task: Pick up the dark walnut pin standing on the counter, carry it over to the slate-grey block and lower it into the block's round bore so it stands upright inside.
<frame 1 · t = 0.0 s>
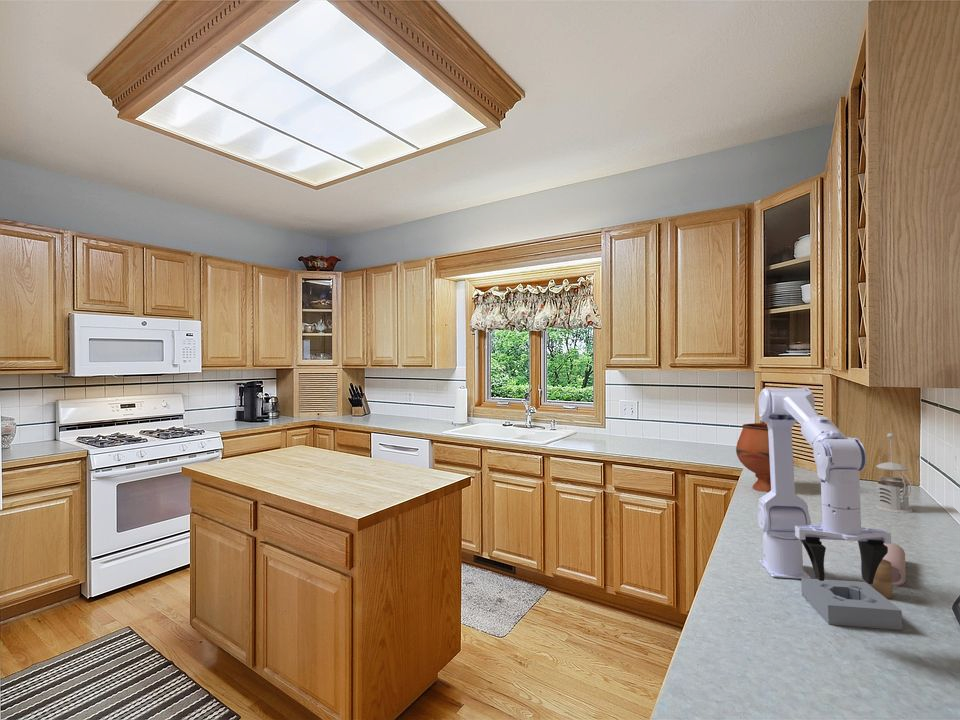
hand: (843, 580, 89), 10 cm above the countertop, fingers open, 7 cm apart
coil: (892, 573, 114), on the countertop
walnut pin: (880, 594, 104), on the countertop
goblet: (765, 489, 190), on the countertop
french press: (895, 510, 161), on the countertop
bore block: (848, 611, 97), on the countertop
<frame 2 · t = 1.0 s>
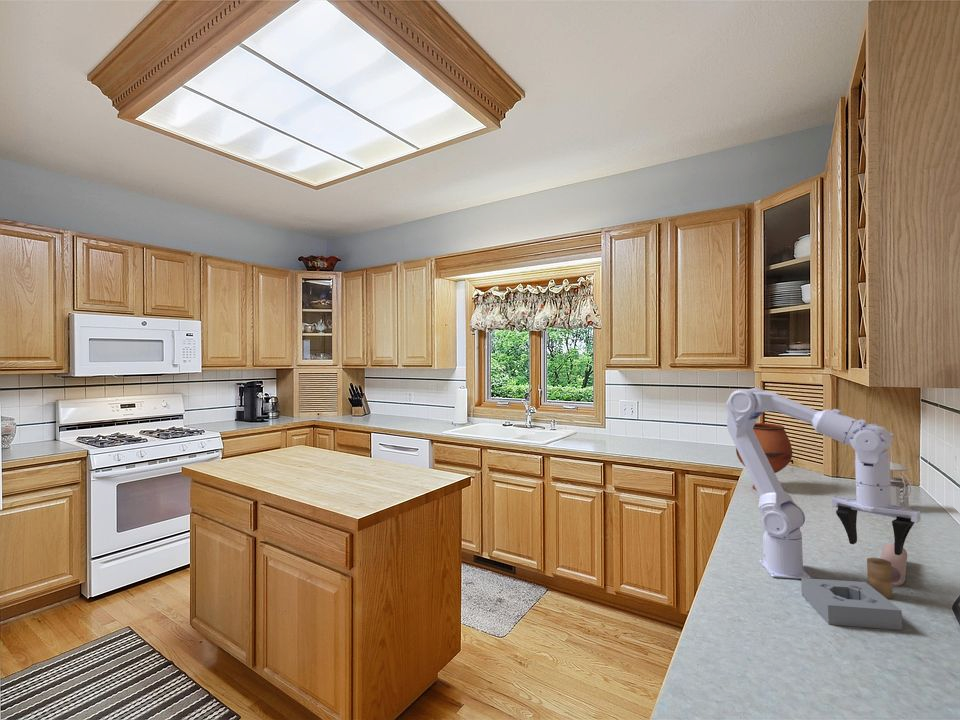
hand: (875, 548, 102), 10 cm above the countertop, fingers open, 7 cm apart
nothing on the countertop moved.
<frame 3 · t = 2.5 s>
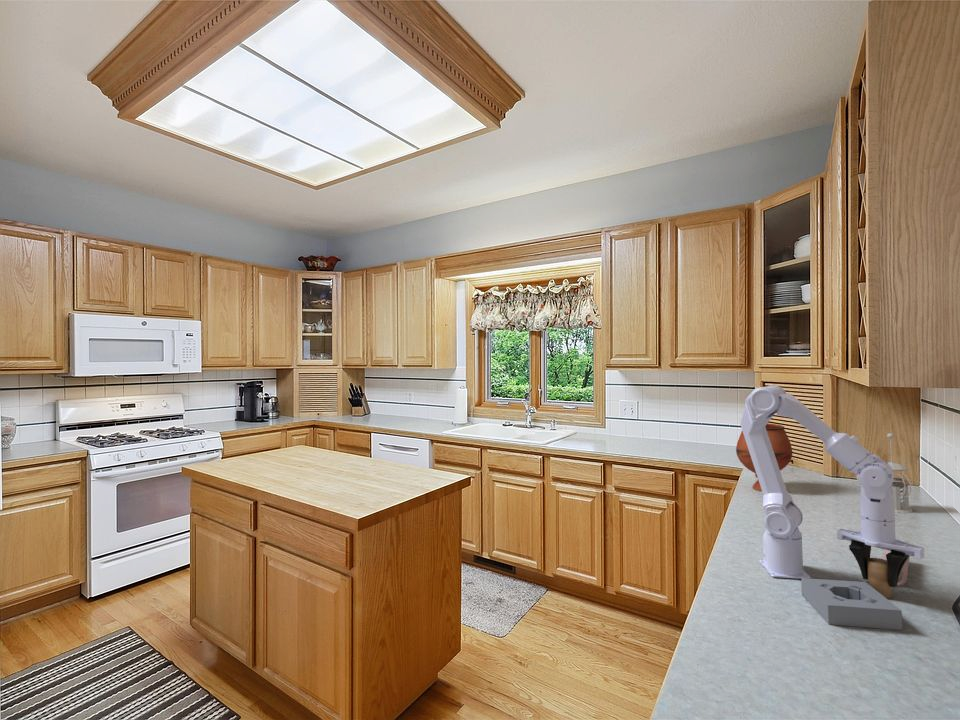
hand: (879, 581, 104), 3 cm above the countertop, fingers closed on walnut pin, 4 cm apart
walnut pin: (880, 594, 104), on the countertop, touching gripper
everything else where it was.
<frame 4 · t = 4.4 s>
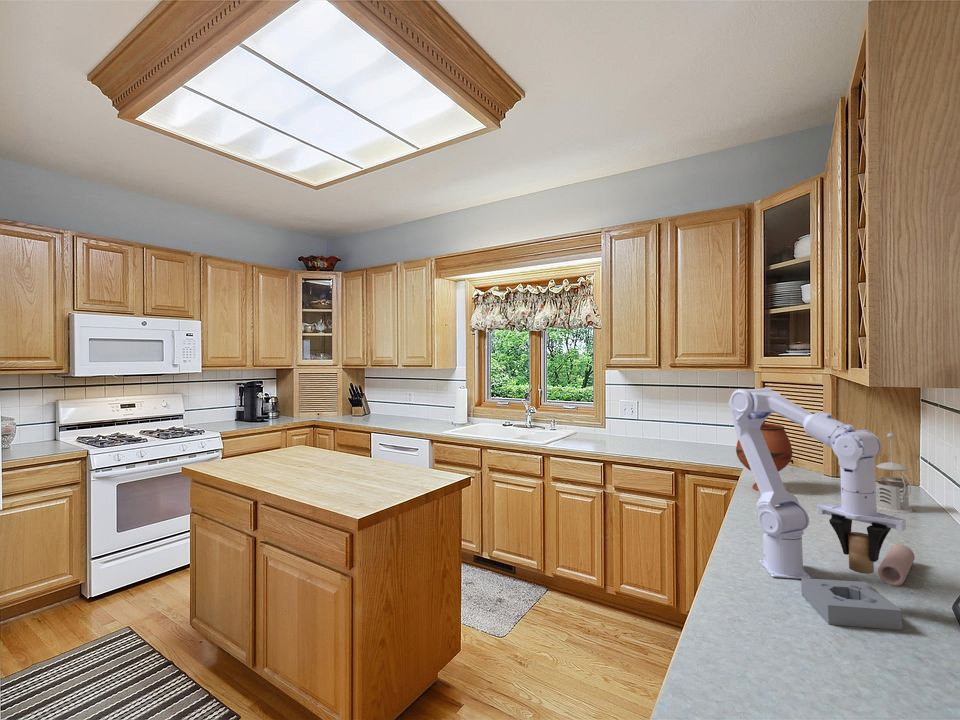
hand: (860, 556, 100), 10 cm above the countertop, fingers closed on walnut pin, 4 cm apart
walnut pin: (861, 569, 100), point 7 cm above the countertop, touching gripper
everything else where it was.
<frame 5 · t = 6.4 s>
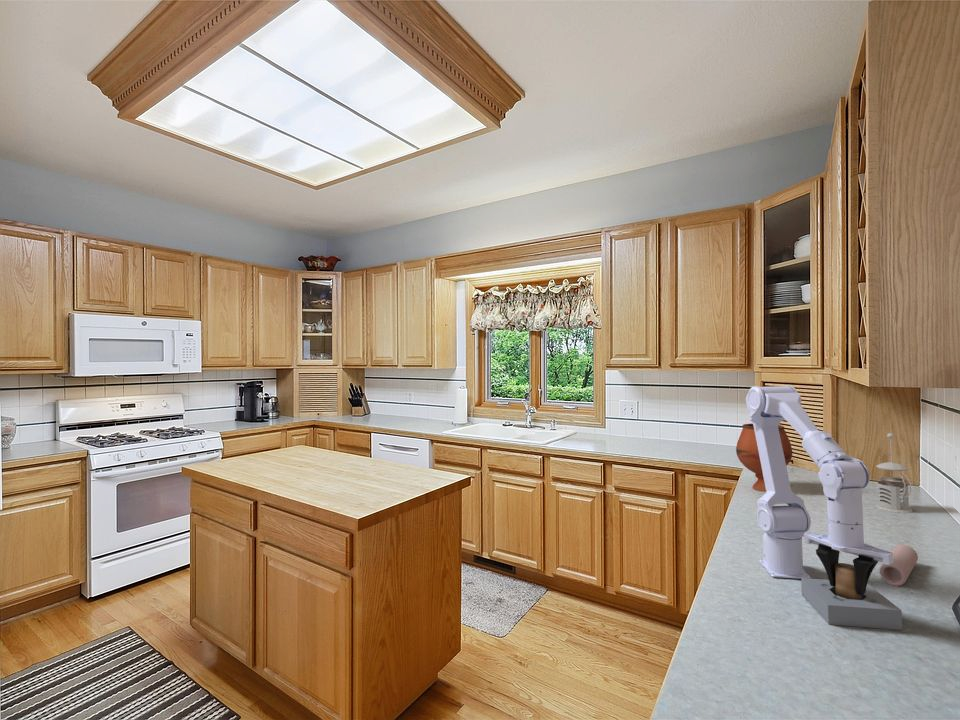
hand: (847, 589, 97), 4 cm above the countertop, fingers closed on walnut pin, 4 cm apart
walnut pin: (848, 602, 97), point 2 cm above the countertop, touching gripper
when the fingers open (4 cm above the countertop, at t = 6.4 s): walnut pin stays where it is, resting on bore block.
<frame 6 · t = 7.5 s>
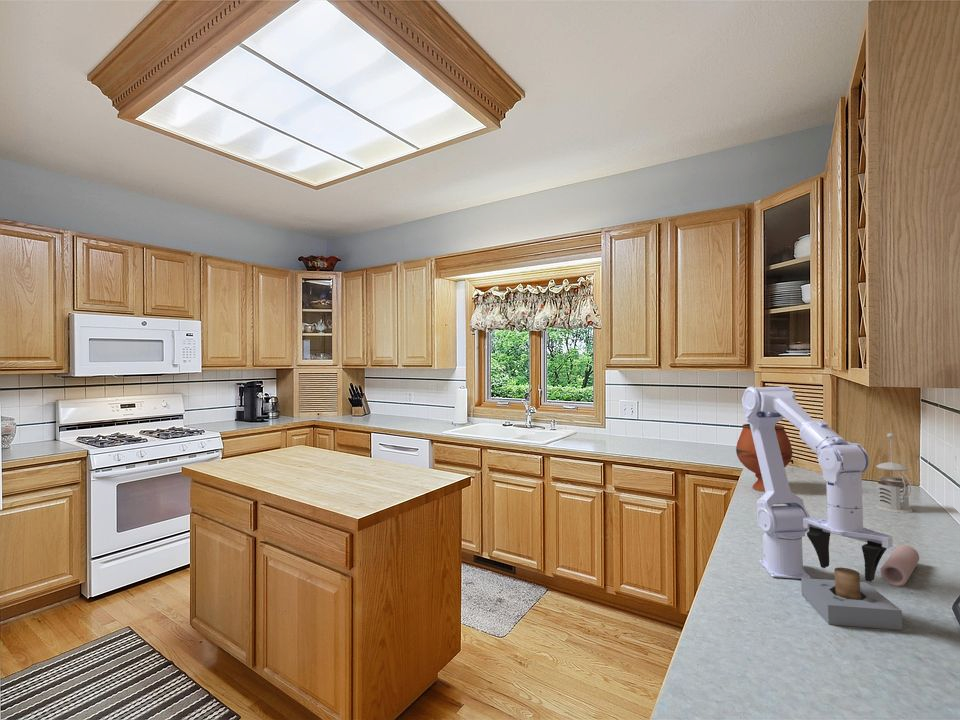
hand: (846, 573, 97), 8 cm above the countertop, fingers open, 7 cm apart
walnut pin: (848, 607, 97), point 1 cm above the countertop, touching bore block
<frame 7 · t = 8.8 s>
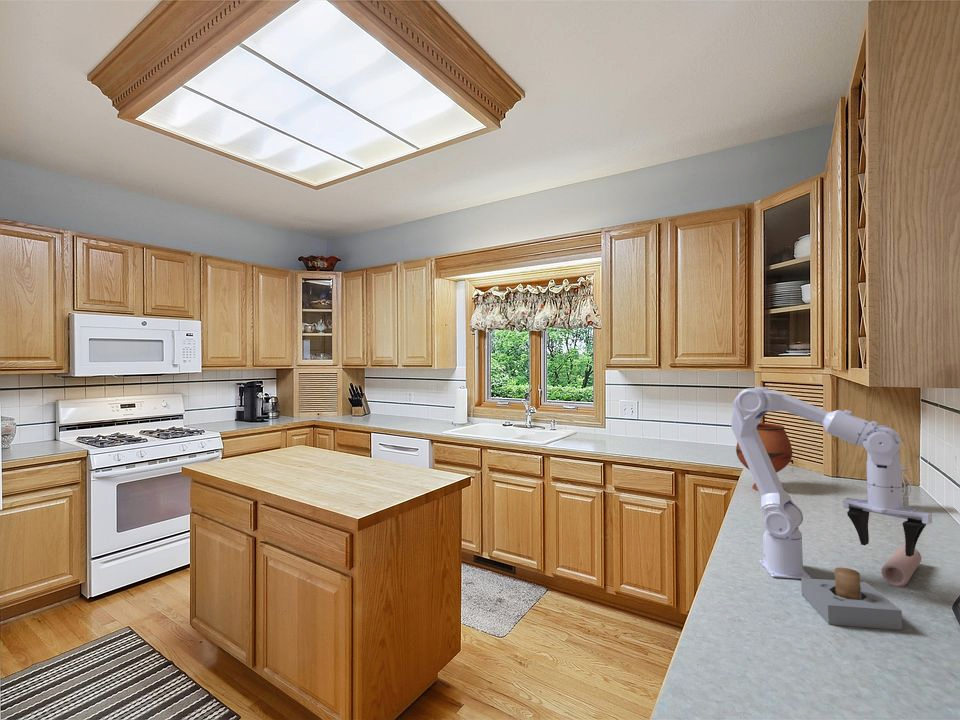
hand: (886, 549, 103), 10 cm above the countertop, fingers open, 7 cm apart
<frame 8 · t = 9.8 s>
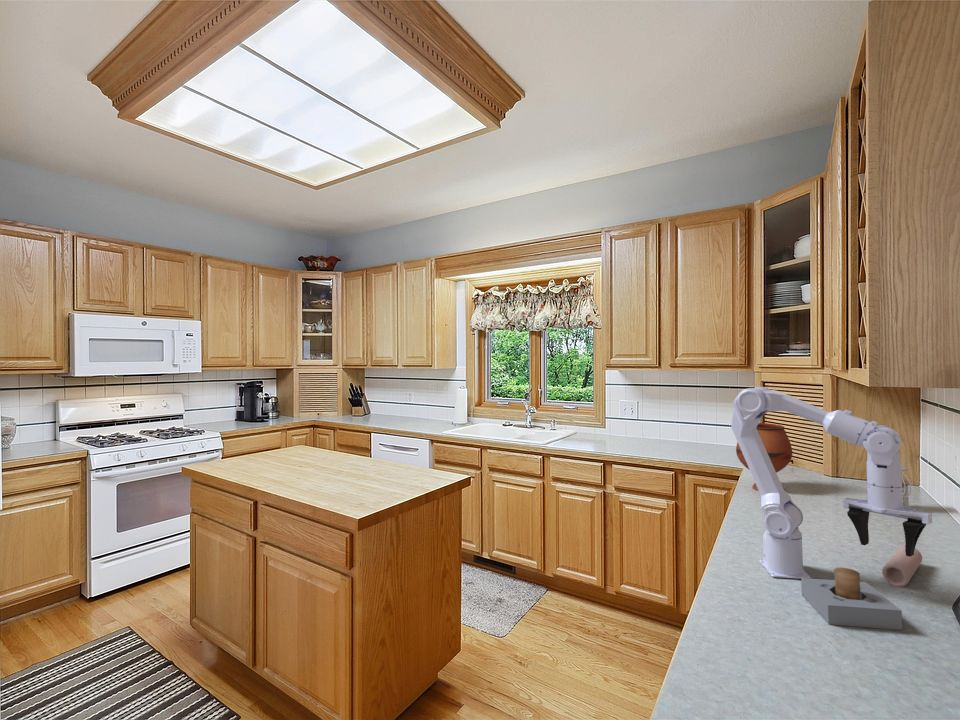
hand: (886, 549, 103), 10 cm above the countertop, fingers open, 7 cm apart
at the end: walnut pin 0.1 cm off-centre on the bore block, point 0.8 cm above the bore block's base; walnut pin tilted 1°; the gripper is holding nothing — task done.
